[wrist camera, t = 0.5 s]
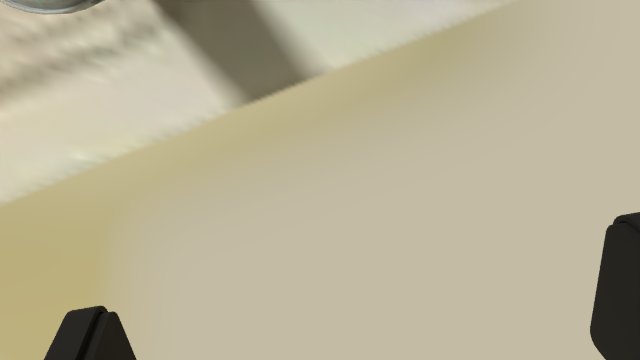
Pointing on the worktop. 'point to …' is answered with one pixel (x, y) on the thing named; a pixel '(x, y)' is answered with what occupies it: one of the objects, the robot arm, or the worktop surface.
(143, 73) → the worktop surface
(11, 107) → the worktop surface
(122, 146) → the worktop surface
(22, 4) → the spray can
